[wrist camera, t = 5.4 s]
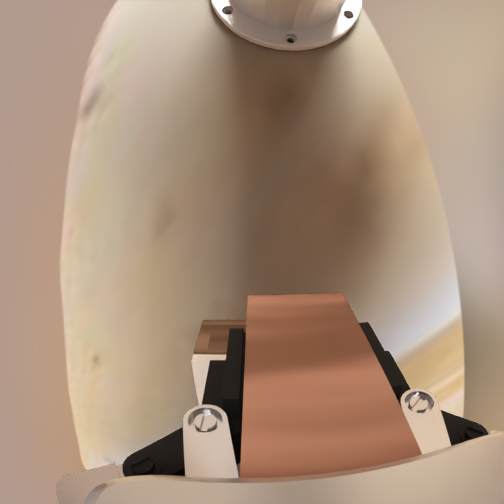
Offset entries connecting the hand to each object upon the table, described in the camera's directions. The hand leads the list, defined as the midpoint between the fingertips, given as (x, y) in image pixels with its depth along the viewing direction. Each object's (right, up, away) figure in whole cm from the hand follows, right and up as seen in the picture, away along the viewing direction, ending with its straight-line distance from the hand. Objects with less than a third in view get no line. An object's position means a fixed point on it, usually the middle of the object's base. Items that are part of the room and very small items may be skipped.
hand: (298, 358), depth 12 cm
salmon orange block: (0, +1, +2) cm, 2 cm away
